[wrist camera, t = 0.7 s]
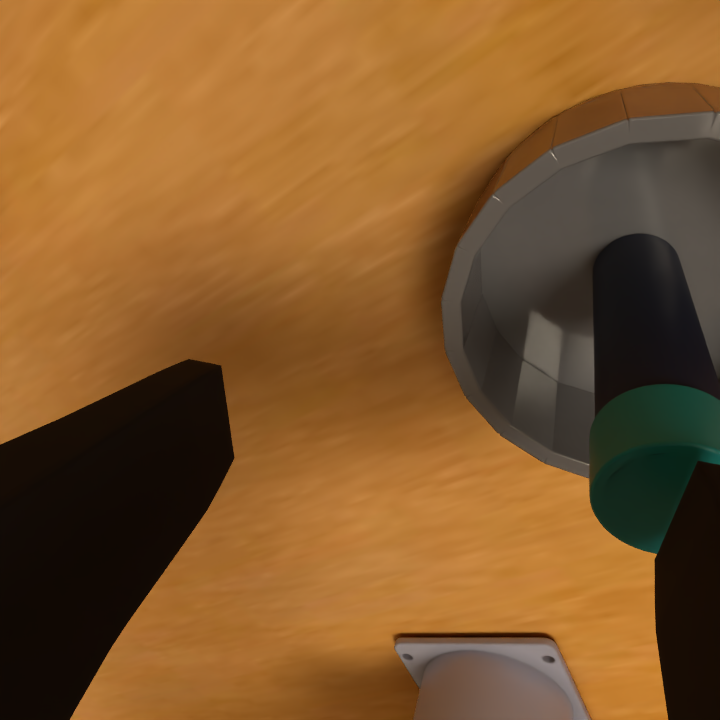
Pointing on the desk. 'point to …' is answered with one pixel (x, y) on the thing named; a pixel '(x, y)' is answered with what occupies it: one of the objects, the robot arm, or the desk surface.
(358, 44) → the desk surface
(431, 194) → the desk surface
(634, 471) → the flashlight
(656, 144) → the pot
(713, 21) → the desk surface
